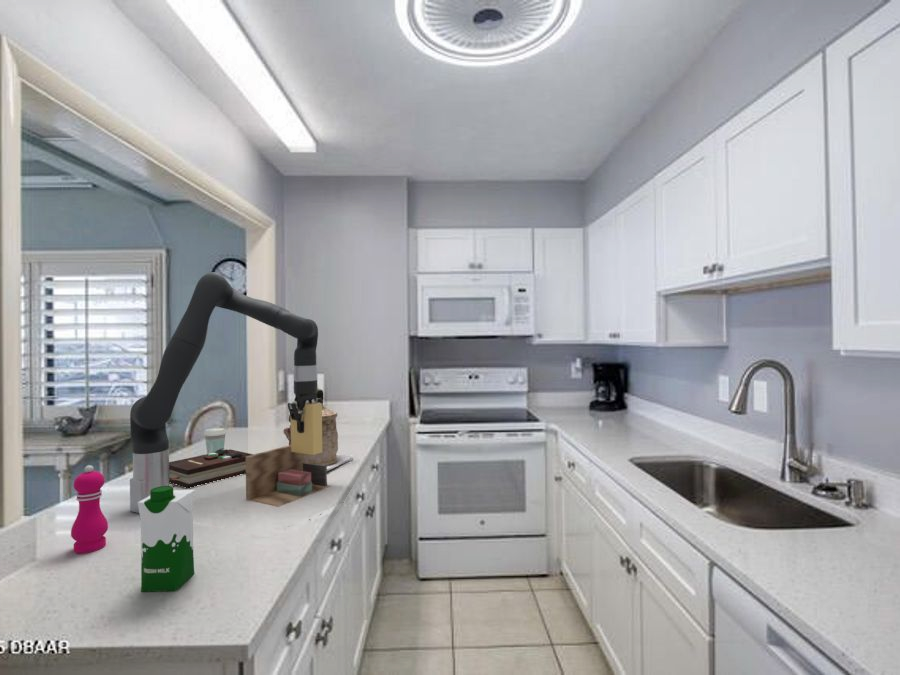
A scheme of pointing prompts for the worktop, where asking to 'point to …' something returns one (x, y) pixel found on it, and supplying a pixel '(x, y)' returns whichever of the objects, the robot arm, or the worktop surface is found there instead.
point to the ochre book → (308, 431)
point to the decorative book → (207, 468)
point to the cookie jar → (325, 440)
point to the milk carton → (166, 539)
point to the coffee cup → (214, 439)
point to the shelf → (269, 475)
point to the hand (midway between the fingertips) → (306, 431)
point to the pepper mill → (89, 513)
